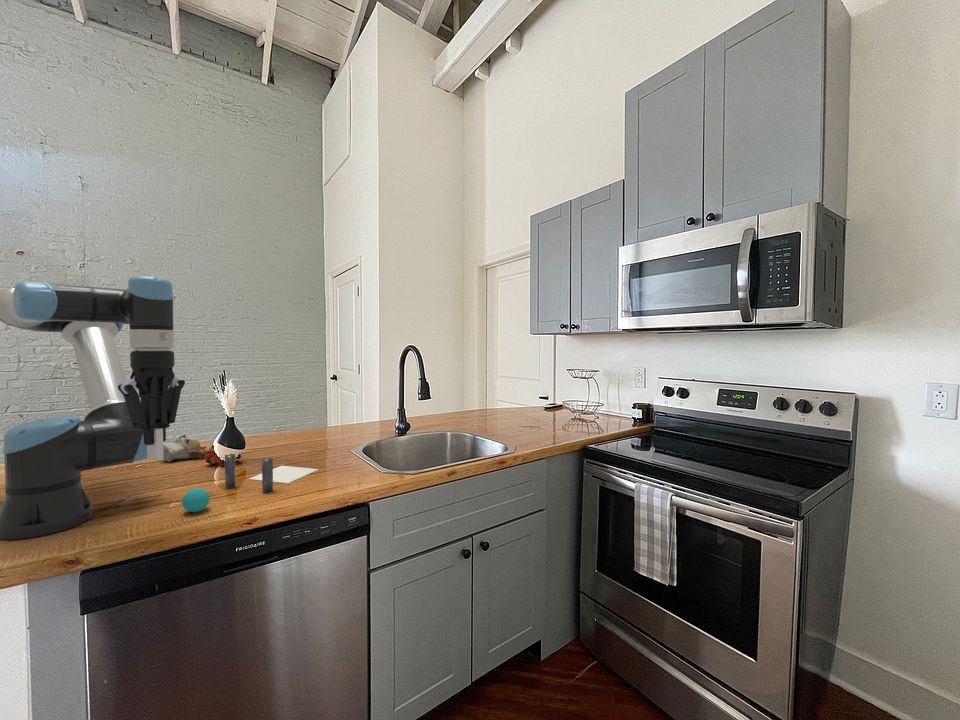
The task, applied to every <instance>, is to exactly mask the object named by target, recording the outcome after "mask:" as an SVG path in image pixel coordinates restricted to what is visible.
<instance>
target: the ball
mask: <svg viewBox="0 0 960 720" xmlns="http://www.w3.org/2000/svg"><path fill="white" fill-rule="evenodd" d="M210 498H211V497H210V494H209V492H208V491H207V490H206V489H204V488H201V487H200V488H199V487H198V488H192V489H190V490H188V491H187V492H186V493H185V494H184V495H183V496H182V501H181V504H182V507H183V508H184V510H185V511H187V512H189V513H199V512H201V511H203V510H204V509H206V507H207V506H208V505H209V503H210V501H211V500H210Z"/></svg>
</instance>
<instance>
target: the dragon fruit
mask: <svg viewBox="0 0 960 720" xmlns="http://www.w3.org/2000/svg"><path fill="white" fill-rule="evenodd" d="M214 445H215V444H214ZM214 445H211V447H210V448H209V449H206V450H207V451H206V452H204V453H203V454H202V456H201V457H200V459H203V458H204V459H205V460H204V462H205V463H206V464H209V465H214V466H219V467H222V466H225V461H224V460H221V459H220V457H218V456H217V454H216V453H215V451H214ZM241 458H242V453H241V454H239V455H238V457H236V458H235V461H237V460H240V459H241Z"/></svg>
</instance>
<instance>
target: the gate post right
mask: <svg viewBox="0 0 960 720" xmlns="http://www.w3.org/2000/svg"><path fill="white" fill-rule="evenodd" d="M273 458H274V457H264V458H261V459H262V460H261V471H262V472H261V474H262V481H261V482H262V483H261V484H262V486H261V487H262V493H263V494H271V493H273V492H274V482H273V469H274V462H273V460H274V459H273Z"/></svg>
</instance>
